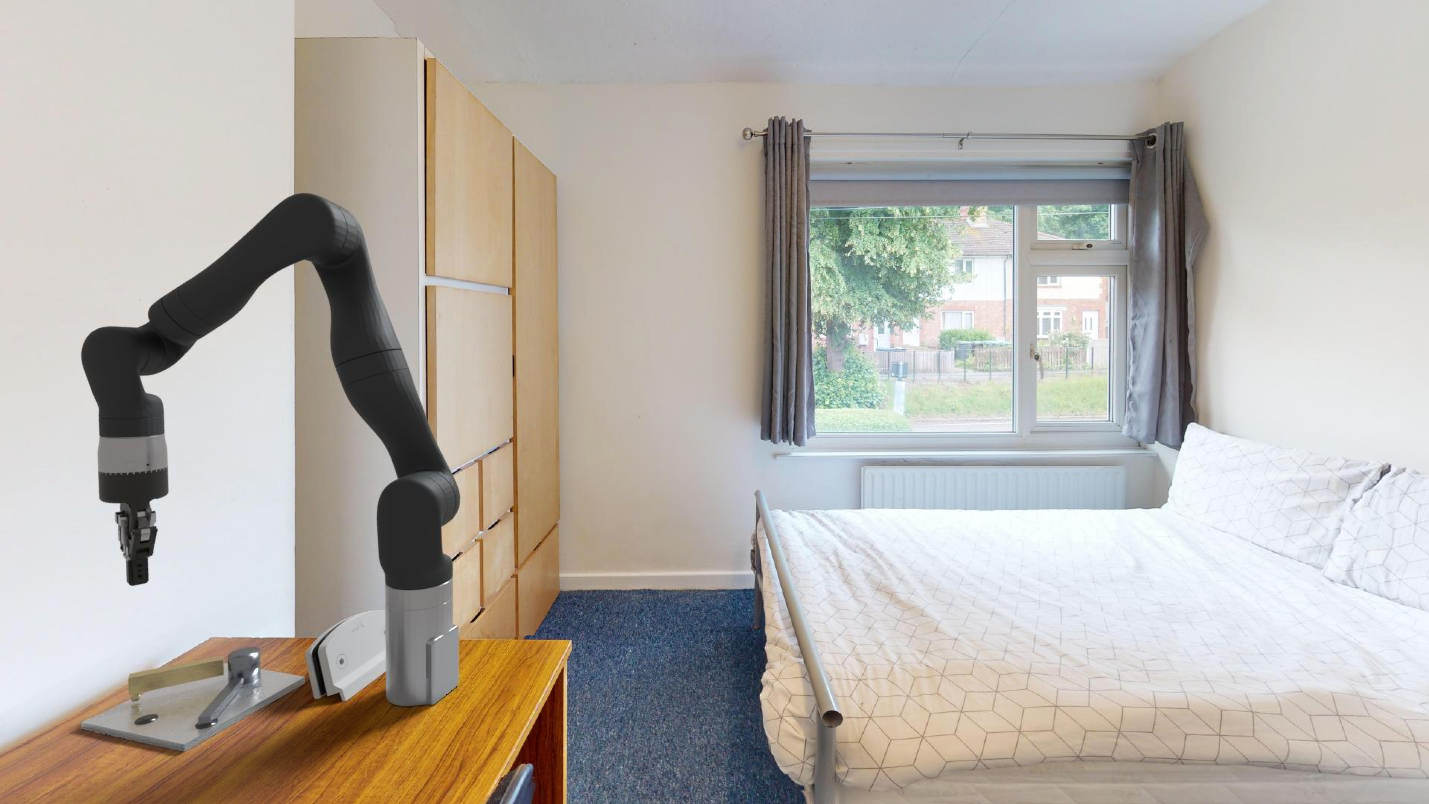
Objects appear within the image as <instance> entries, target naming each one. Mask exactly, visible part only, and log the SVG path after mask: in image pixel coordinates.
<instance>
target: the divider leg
mask: <svg viewBox="0 0 1429 804" xmlns="http://www.w3.org/2000/svg"><path fill="white" fill-rule="evenodd" d="M224 658H225V657H224V654H223V655H217V656H213V657H212V656H211V657H208V658H203V659H198V660H197V659H196V660H193V661H187V662H182V663H178V664H172V665H167V666H162V667H157V668H156V667H155V668H152V669H148V670H147V669H146V670H143V671H142V670H141V671H138V672H137V671H136V672H132V673H129V675H128V678H127V685H128V686H127V688H128V689H127V690H128V696H130V700H131V701H132V702H134V701H138V700H139V699H140V695H141V694H143V693H146V692H148V691H151V690H156V689H161V688H165V687H170V686H175V685H179V684H184V683H189V682H193V681H198V680H203V679H207V678H212V677H217V676H221V675H224V663H225V661H224Z"/></svg>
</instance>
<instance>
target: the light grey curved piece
mask: <svg viewBox="0 0 1429 804" xmlns="http://www.w3.org/2000/svg"><path fill="white" fill-rule="evenodd" d="M304 657H305V662H306V667H307V672H308V676H309V677H308V678H309V680H310V681H309V682H310V685H311V690H312V695H313V699H315V700H318V699H321V698H322V697H324V696H325V695H327V697H329V696H332V695H335V694H339V695H340V698H341V701H342V702H347V701H348V700H350V699H351V698H353V696H354V695H356V694H357V693H359V692H360V691H361V690H363V689H364V688H365V687H367V686H369V684H371V683H372V682H373V681H375V680H376V679H378V678H379V677H381V676H382V675H383V674H384V673H386V642H385V609H378V610H377V609H376V610H369V611H364V612H361V613H360V612H359V613H357V614H354V615H351V616H349V617H347V618H345V619H342V620H339V622H337V623H335V624H333V625H332V626H330V627H329V628H328V629H326V630H325V631H324V632H322V633H321V634H320V635H318V637H317V638H316V639H315V640H314V641H313V643H312V644H311V645H310V646H309V647H308V648H307V649H306V651H305V655H304Z"/></svg>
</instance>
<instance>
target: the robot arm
mask: <svg viewBox="0 0 1429 804" xmlns="http://www.w3.org/2000/svg"><path fill="white" fill-rule="evenodd" d="M363 231H364V230H363V228H362V227H361V224H360V223H359V221H358V219H357V218H356V216H354V214H352V213H351V211H349V210H348V209H346V208H345V207H343V206H341V205H339V204H337V203H335V202H333V201H331V200H329V199H328V198H325V197H322V196H321V195H317V194H314V193H310V192H300V193H295V194H292V195H289V196H287V197H286V198H284V199H282V201H281V202H279V203H278V204H277V205H275V206H274V207H273V208H272V209H271V210H270V211H269V212H268V213H266V214H265V215H264V216H263V217H262V218H261V219H260V220H259V221H258V222H257V223H256V224H255V225H254V226H253V227H252V228H251V229H250V230H249V231H247V232H246V234H244V235H243V236H241V238H240V239H239V240H238V241H237V242H235V244H233V245H232V246H231V247H230V248H229V249H228V250H227V251H225V252H223V254H222V255H221V256H219V257H218V258H217V259H216V260H215V261H213V262H212V263H211V264H210V265H208V266H207V267H206V268H204V269H203V270H202V271H200V272H198V273H197V274H196V275H194V276H193V277H191V278H189V279H188V280H187V281H185V282H183V283H181V284H180V285H178V286H177V287H176V288H174V289H172V290H171V291H169V292H167V293H166V294H164V295H163V296H161V297H159V298H158V299H157V300H156V301H154V302H153V304H151V306H150V307H149V308H148V311H147V317H148V320H149V321H148V322H146V323H144V324H143V325H139V326H138V327H136V326H135V327H133V326H116V325H107V326H101V327H98V328H96V329H94V330H92V331H91V332H90V333H89V334H88V335H87V336H86V337H85V339H84V341H83V343H82V346H81V350H80V351H81V352H80V359H81V365H82V368H83V371H84V374H85V376H86V380H87V382H88V384H89V388H90V390H91V394H92V396H93V399H94V400H95V402H96V404H97V408H98V436H99V439H98V447H97V477H98V481H97V482H98V498H99V501H100V502H103V503H107V504H119V511H115V512H114V522H115V523H116V525H117V524H118V529H117V540H118V541H119V545H120V546H119V549H120V551H121V552H122V557H123V558H124V559H125V567H126V569H125V571H126V573H125V574H126V575H125V576H126V583H127V584H128V585H129V586H130V587H134V586H135V587H136V586H139V585H145V584H147V583H148V582H149V581H150V579H149V578H150V577H149V575H150V573H149V558H151V557H152V556H153V555H154V553H155V544H156V540H157V534H158V532H159V529H158V528H157V526H156V525H155V523H156V522H157V512H156V510H152V507H151V501H153V500H158V499H163V498H164V497H166V496H167V495H168V494H169V464H168V463H169V459H168V457H169V455H168V447H167V446H168V445H167V442H166V435H165V434H166V433H165V410H164V409H165V408H164V403H163V401H162V398H161V397H160V396H158V395H156V394H153V393H148V392H146V390H145V387H144V385H143V382H142V379H141V377H144V376H146V377H147V376H153V375H157V374H160V373H161V372H162V373H163V372H164V371H166V370H168V369H170V368H171V367H173V366H175V365H176V363H178V362H179V361H180V360H181V359H182V358H183V357H184V356H185V355H186V354H187V353H188V352H189V351H190V350H191V349H192V348H193V346H194V345H195V344H196V342H198V341H199V340H200V339H203V338H204V337H205V336H207V335H209V334H211V332H214V331H216V329H218V328H219V327H221V326H223V325H224V324H226V323H227V322H229V321H230V320H231V319H233V318H235V316H236V315H237V314H239V313H240V312H241V311H242V310H243V309H244V308H245V306H246V305H247V303H248V302H249V301H250V300H251V299H252V297H253V295H254V294H255V293H256V291H257V290H258V289H259V287H260V286H262V284H264V283H265V282H266V281H267V280H269V279H270V278H271V277H273V276H274V275H275V274H277V273H278V272H280V271H282V270H284V269H286V268H288V267H290V266H292V265H295V264H297V263H300V262H302V261H307V262H311V264H312V265H313V267H314V269H315V271H316V273H317V275H318V276H319V279H320V282H321V284H322V287H323V289H324V292H325V293H326V294H325V295H326V296H327V300H328V303H329V308H330V309H329V311H330V332H329V336H330V337H329V338H330V339H329V344H330V353H331V358H332V362H333V365H334V368H335V371H336V374H337V377H338V379H339V382H340V384H341V386H342V389H343V392H344V394H345V396H346V397H347V400H348V403H350V406H351V407H352V408H354V410H355V411H356V413H357V414H358V415H359V417H360V418H361V419H362V420H363V422H364V423H365V424H366V425H368V427H369V428H370V429H371V430H372V431H373V432H374V433H375V435H376V436H377V437H378V438H379V440H380V442H381V443H383V445H384V447H385V449H386V451H387V453H388V455H389V457H390V460H391V462H392V465H393V469H394V471H395V474H396V475H395V476H396V478H397V479H395V480H393V481H391V482H390V483H388V484H387V485H386V486H385V487H384V488H383V489H382V491H381V493H380V495H379V497H378V501H377V505H376V533H377V534H376V535H377V552H378V561H379V564H380V567H381V569H382V570H383V573H384V582H385V583H384V603H385V605H384V607H385V608H384V610H385V642H386V672H385V698H386V699H387V702H389V703H390V704H393V705H396V706H400V707H414V706H415V707H416V706H421V705H432V706H433V705H435V704H437V703H438V702H439V701H441V699H443V698H444V697H445V696H447V695H448V694H449V693H451V692H452V691H453V690H454V689H455V688H456V686H457V685H458V684H460V679H459V678H460V676H459V675H460V673H459V671H460V670H459V668H460V665H459V664H460V658H459V657H460V656H459V654H460V652H459V651H460V648H459V647H460V641H459V639H460V635H459V634H460V631H459V629H460V628H459V626H458V625H457V624H454V617H453V616H454V611H453V610H454V608H453V607H454V605H453V604H454V603H453V601H454V600H453V599H454V597H453V595H454V594H453V591H454V590H453V589H454V585H453V584H454V583H453V582H454V581H453V580H454V579H453V578H454V565H453V559H452V557H451V556H449V555H448V554H445V553H444V551H443V536H442V533H443V532H442V528H443V527H445V526H446V525H447V524H448V523H450V522H451V521H452V520H453V519H454V518H455V517H456V516H457V514H458V512H459V510H460V506H461V505H460V504H461V494H460V489H459V486H458V483H457V481H456V479H455V477H454V474H453V473H452V471H451V469H450V467H449V464H448V462H447V461H446V459H445V456H444V454H443V452H442V451H441V449H440V447H439V445H438V443H437V440H436V438H435V436H434V434H433V432H432V429H431V427H430V424H429V421H428V417H427V415H426V412H425V409H424V407H423V404H422V401H421V399H420V396H419V393H418V391H417V388H416V386H415V383H414V379H413V376H412V372H411V370H410V368H409V364H408V362H407V360H406V359H407V358H406V356H405V354H404V353H405V352H404V351H403V348H402V346H401V343H400V341H399V339H398V337H397V335H396V332H395V329H394V325H393V324H392V321H391V318H390V315H389V313H388V310H387V308H386V306H385V304H384V301H383V299H382V296H381V294H380V291H379V288H378V285H377V283H376V281H377V280H376V278H375V275H374V271H373V270H374V269H373V266H372V263H371V259H370V255H369V250H368V246H367V242H366V238H365V235H364V232H363ZM458 686H459V685H458ZM458 686H457V687H458ZM451 690H452V691H451ZM446 694H447V695H446Z"/></svg>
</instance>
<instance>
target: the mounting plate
mask: <svg viewBox="0 0 1429 804" xmlns="http://www.w3.org/2000/svg"><path fill="white" fill-rule="evenodd" d="M261 663H262V662H261V648H260V647H256V646H251V647H250V646H249V647H247V646H246V647H242V648H239V649H235V650H233V651H231V652H230V653H228V654H227V662H224V675H221V676H217V677H212V678H207V679H203V680H198V681H193V682H189V683H184V684H179V685H175V686H170V687H165V688H161V689H156V690H151V691H147V692H143V693H140V699H139V700H138V701H134V702H132V701H131V699H129V700H126V701H124V702H122V703H120V704H117V705H115V706H113V707H111V708H109V709H107V710H104V711H102V712H100V713H98V714H96V715H94V716H92V717H89V718H87V719H85V720H83V721H80V722H81V723H80V725H81V727H80V728H81V729H80V730H82V729H85V730H84V731H87V730H90V731H89V732H91V731H96V732H98V733H97V734H100V733H102V735H105V734H107V735H106V736H109V735H111V737H115V738H119V737H122V738H121V739H123V738H125V740H129V741H132V740H134V742H136V743H137V742H138V743H142V744H146V745H151V746H156V747H161V748H166V749H169V750H174V751H178V752H184V753H185V752H187V751H189V750H191V749H192V748H194V747H196V746H197V745H199V744H201V743H203V742H204V741H206V740H208V739H209V738H212V737H213V736H215V735H217V734H218V733H220V732H222V731H224V730H225V729H227V728H229V727H231V726H233V725H235V724H236V723H238V722H240V721H241V720H243V719H245V718H247V717H249V716H250V715H252V714H254V713H256V712H257V711H259V710H261V709H263V708H264V707H266V706H268V705H270V704H271V703H273V702H275V701H277V700H278V699H280V698H282V697H283V696H286V695H287V694H289V693H291V692H293V691H294V690H296V689H298V688H299V687H301V686H304V684H306V676H302V675H296V674H291V673H287V672H280V671H274V670H268V669H263V668H262V667H261V666H262V665H261ZM96 732H95V733H96Z"/></svg>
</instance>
